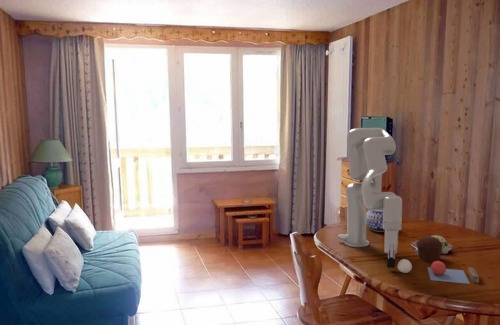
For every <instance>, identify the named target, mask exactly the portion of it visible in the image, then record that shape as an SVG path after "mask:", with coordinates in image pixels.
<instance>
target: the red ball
mask: <svg viewBox="0 0 500 325" xmlns="http://www.w3.org/2000/svg"><path fill="white" fill-rule="evenodd" d="M430 268H431V270H432V272H433V273H434V274H436V275H442V274H444V273H445V271H446V269H447V266H446V265H445V263H444V262H443V261H440V260H438V261H432V263H431V264H430Z"/></svg>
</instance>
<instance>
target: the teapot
mask: <svg viewBox="0 0 500 325" xmlns="http://www.w3.org/2000/svg"><path fill="white" fill-rule="evenodd" d="M366 227H368V228H369V229H370V230H371V231H373V232H379V233H380V232H381V233H382V232H383V233H385V229H383V209H381V210H369V209H368V211H367V220H366Z"/></svg>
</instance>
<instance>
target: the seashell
mask: <svg viewBox="0 0 500 325" xmlns="http://www.w3.org/2000/svg"><path fill="white" fill-rule="evenodd" d="M432 236H433V237H436V238H437V239H438V240H439V241H440V242H441V243H442V245H443V247H442V251H441V255H442V254H443V255H446V254H448V253H449V251H450V250H449V243H448V242H447V240H446V239H445V238H444V236H440V235H432Z"/></svg>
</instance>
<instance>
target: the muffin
mask: <svg viewBox="0 0 500 325" xmlns="http://www.w3.org/2000/svg"><path fill="white" fill-rule="evenodd" d="M433 236H434V235H423V236H422V237H420V238H419V239H418V240H417V241H416V242H415V243H416V248H417V255H418V258H419V259H420V260H422V261H425V262H432V263H433V262H435V261H440V260H441V256H442V254H441V251H442V247H443V245H442V243H441V242H440V241H439V240H438V239H437V238H436V237H433Z"/></svg>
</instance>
